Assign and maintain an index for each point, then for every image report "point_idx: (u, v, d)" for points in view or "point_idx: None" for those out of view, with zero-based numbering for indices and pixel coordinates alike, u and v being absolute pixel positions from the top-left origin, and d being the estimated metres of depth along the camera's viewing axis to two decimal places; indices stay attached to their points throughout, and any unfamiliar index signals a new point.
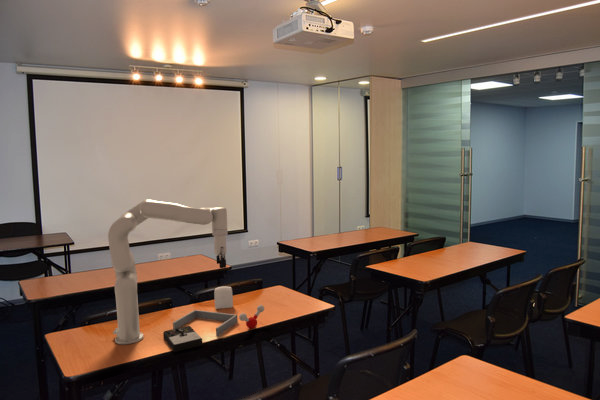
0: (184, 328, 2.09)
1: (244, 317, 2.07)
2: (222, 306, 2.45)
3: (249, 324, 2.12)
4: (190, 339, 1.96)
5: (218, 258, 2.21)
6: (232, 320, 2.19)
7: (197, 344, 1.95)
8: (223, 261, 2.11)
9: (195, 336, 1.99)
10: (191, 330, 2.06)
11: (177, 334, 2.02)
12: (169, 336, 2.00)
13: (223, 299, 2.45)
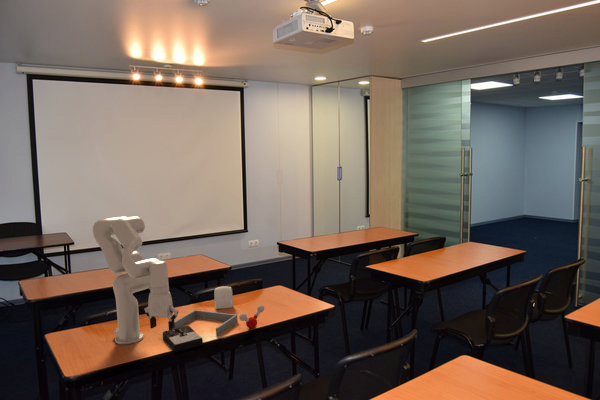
0: (183, 328, 2.09)
1: (244, 317, 2.07)
2: (222, 306, 2.45)
3: (249, 324, 2.12)
4: (190, 339, 1.96)
5: (152, 321, 1.88)
6: (232, 320, 2.19)
7: (197, 344, 1.96)
8: (173, 321, 1.85)
9: (196, 336, 1.99)
10: (191, 330, 2.06)
11: (177, 334, 2.02)
12: (169, 336, 1.99)
13: (223, 299, 2.45)
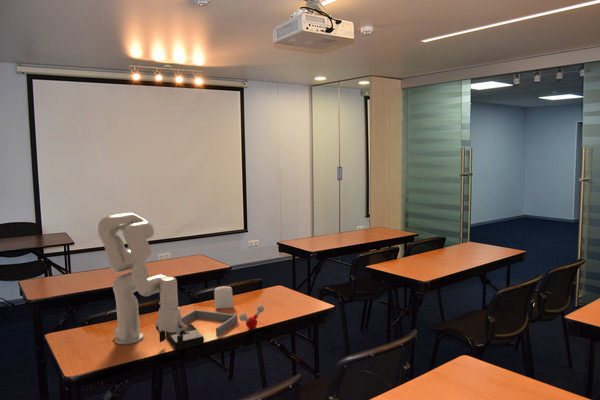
0: None
1: (244, 317, 2.07)
2: (222, 306, 2.45)
3: (249, 324, 2.12)
4: (191, 337, 1.98)
5: (162, 335, 1.94)
6: (232, 320, 2.19)
7: (198, 342, 1.97)
8: (182, 336, 1.91)
9: (197, 334, 2.01)
10: (193, 328, 2.08)
11: None
12: (171, 334, 2.02)
13: (223, 299, 2.45)
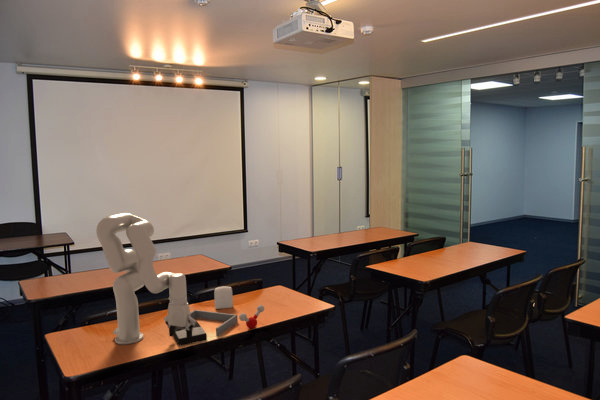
0: (191, 323, 2.15)
1: (244, 317, 2.07)
2: (222, 306, 2.45)
3: (249, 324, 2.12)
4: (195, 333, 2.02)
5: (171, 330, 2.00)
6: (232, 320, 2.19)
7: (201, 339, 2.01)
8: (191, 330, 1.97)
9: (200, 331, 2.05)
10: (197, 325, 2.12)
11: (183, 329, 2.08)
12: (175, 330, 2.06)
13: (223, 299, 2.45)
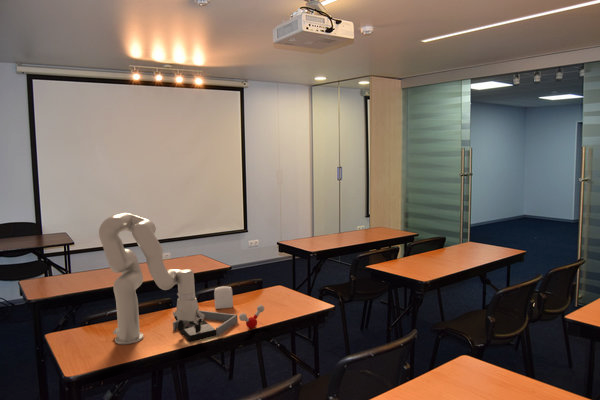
0: None
1: (244, 317, 2.07)
2: (222, 306, 2.45)
3: (249, 324, 2.12)
4: (204, 330, 2.06)
5: (180, 324, 2.06)
6: (232, 320, 2.19)
7: (211, 335, 2.06)
8: (199, 325, 2.03)
9: (209, 327, 2.09)
10: (204, 322, 2.16)
11: (191, 326, 2.12)
12: (184, 328, 2.10)
13: (223, 299, 2.45)
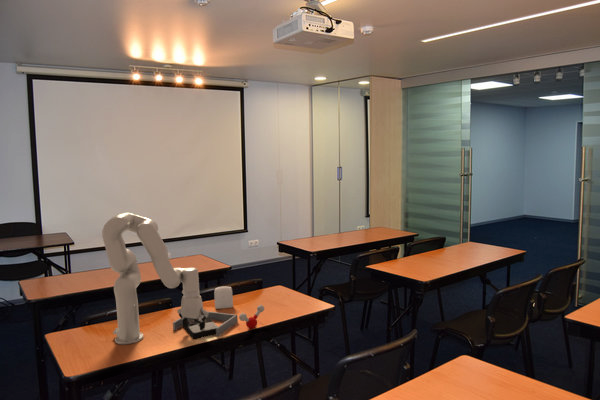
0: None
1: (244, 317, 2.07)
2: (222, 306, 2.45)
3: (249, 324, 2.12)
4: (208, 328, 2.09)
5: (185, 322, 2.10)
6: (232, 320, 2.19)
7: (214, 333, 2.08)
8: (204, 322, 2.07)
9: (213, 325, 2.12)
10: (209, 320, 2.19)
11: (196, 324, 2.15)
12: (189, 325, 2.13)
13: (223, 299, 2.45)
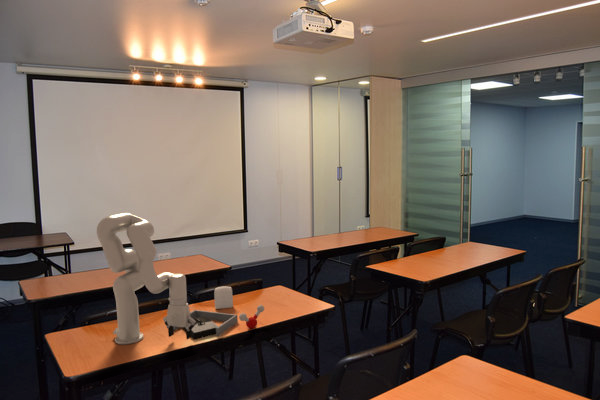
0: (201, 318, 2.22)
1: (244, 317, 2.07)
2: (222, 306, 2.45)
3: (249, 324, 2.12)
4: (208, 327, 2.09)
5: (170, 330, 2.01)
6: (232, 320, 2.19)
7: (215, 332, 2.08)
8: (190, 331, 1.98)
9: (213, 325, 2.12)
10: (208, 320, 2.19)
11: (195, 323, 2.14)
12: None
13: (223, 299, 2.45)
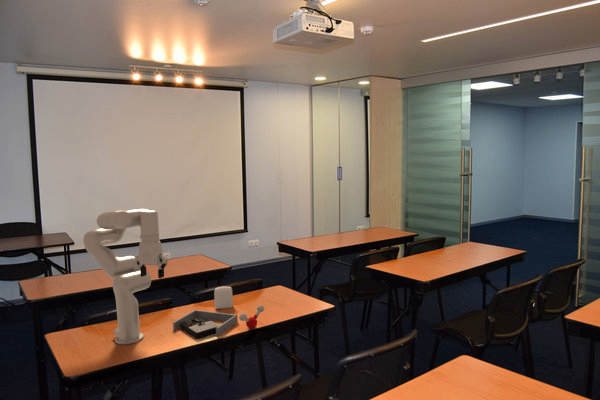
0: (199, 318, 2.21)
1: (244, 317, 2.07)
2: (222, 306, 2.45)
3: (249, 324, 2.12)
4: (210, 327, 2.09)
5: (142, 270, 1.91)
6: (232, 320, 2.19)
7: None
8: (163, 270, 1.88)
9: (213, 324, 2.13)
10: (207, 320, 2.19)
11: (195, 324, 2.14)
12: (188, 326, 2.12)
13: (223, 299, 2.45)
